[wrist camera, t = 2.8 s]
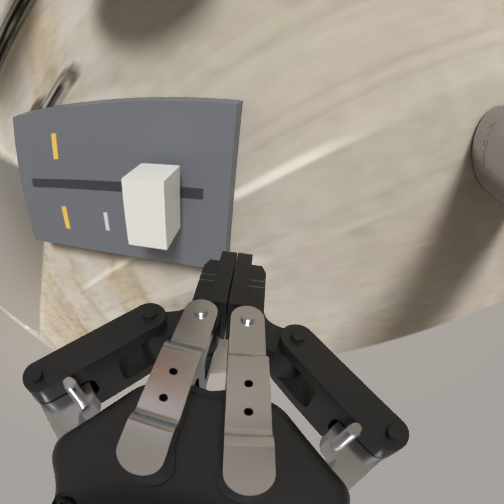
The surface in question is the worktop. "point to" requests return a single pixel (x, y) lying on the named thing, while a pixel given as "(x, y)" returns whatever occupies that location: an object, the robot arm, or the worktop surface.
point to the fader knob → (152, 204)
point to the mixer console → (124, 161)
